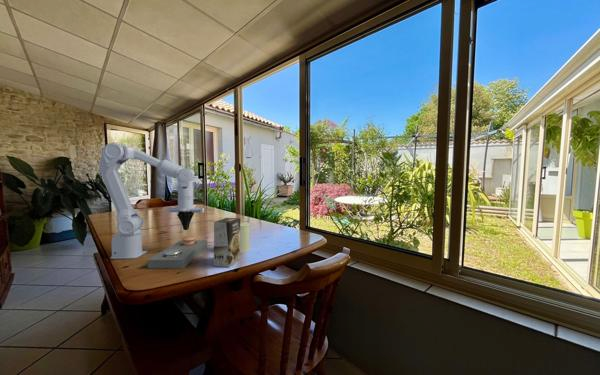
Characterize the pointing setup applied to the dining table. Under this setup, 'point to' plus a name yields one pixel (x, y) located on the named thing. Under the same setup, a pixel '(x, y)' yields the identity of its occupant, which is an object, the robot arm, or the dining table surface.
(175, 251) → the grey plunger
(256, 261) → the dining table surface
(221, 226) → the coffee box
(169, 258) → the console
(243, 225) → the can
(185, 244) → the tan rounded lump
